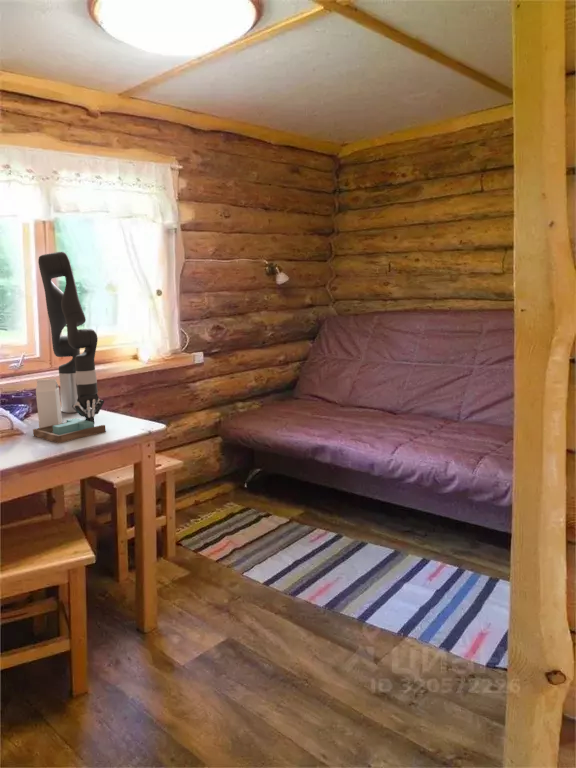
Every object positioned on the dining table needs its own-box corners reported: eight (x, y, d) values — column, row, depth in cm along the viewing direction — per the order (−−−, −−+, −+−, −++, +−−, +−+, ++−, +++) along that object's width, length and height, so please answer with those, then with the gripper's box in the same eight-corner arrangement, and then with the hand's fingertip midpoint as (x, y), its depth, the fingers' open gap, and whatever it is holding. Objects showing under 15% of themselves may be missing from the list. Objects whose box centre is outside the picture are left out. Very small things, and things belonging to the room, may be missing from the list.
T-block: (47, 434, 224) (46, 424, 223) (76, 428, 233) (75, 418, 232) (65, 439, 216) (64, 428, 216) (94, 432, 226) (93, 422, 225)
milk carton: (58, 428, 233) (54, 380, 229) (39, 430, 232) (34, 381, 228) (62, 424, 240) (58, 377, 236) (43, 425, 239) (39, 378, 235)
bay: (33, 436, 223) (32, 429, 222) (79, 425, 237) (79, 419, 237) (58, 443, 212) (58, 436, 211) (105, 431, 226) (105, 425, 226)
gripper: (96, 378, 235) (99, 421, 238) (65, 383, 225) (69, 428, 228) (107, 380, 231) (110, 424, 234) (76, 385, 220) (80, 431, 223)
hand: (90, 426), depth 231 cm, fingers closed
